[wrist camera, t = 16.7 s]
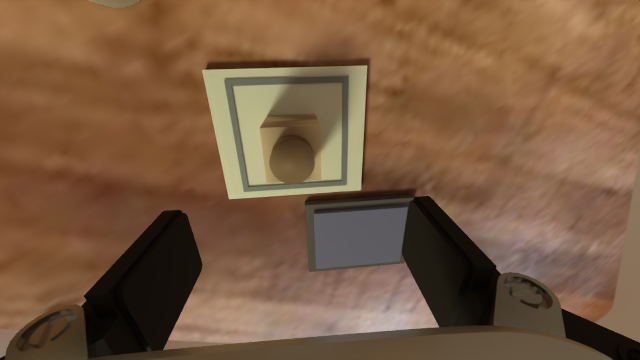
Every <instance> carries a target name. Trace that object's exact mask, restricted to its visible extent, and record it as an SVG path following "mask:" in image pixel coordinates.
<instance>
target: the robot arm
mask: <svg viewBox="0 0 640 360" xmlns="http://www.w3.org/2000/svg"><path fill="white" fill-rule="evenodd" d="M402 255H403V258H404V260H405V262H406V264H407V266H408V268H409V270H410V271H411V273H412V275H413V277H414V279H415V281H416V283H417V285H418V287H419V289H420V291H421V293H422V295H423V296H424V298H425V300H426V302H427V304H428V306H429V308H430V310H431V312H432V314H433V316H434V318H435V319H436V321H437V323H438V325H439V327H438V328H421V329H408V330H395V331H382V332H369V333H357V334H344V335H331V336H319V337H307V338H295V339H283V340H271V341H259V342H248V343H236V344H225V345H214V346H203V347H191V348H180V349H169V350H163V349H164V347H165V344H166V343H167V341H168V338H169V336H170V334H171V332H172V330H173V328H174V326H175V324H176V322H177V320H178V318H179V316H180V314H181V312H182V310H183V308H184V305H185V303H186V301H187V299H188V297H189V295H190V293H191V291H192V289H193V287H194V285H195V283H196V281H197V279H198V277H199V275H200V272H201V270H202V261H201V258H200V254H199V251H198V248H197V245H196V242H195V239H194V236H193V232H192V229H191V226H190V223H189V220H188V217H187V215H186V214H185V213H183V212H182V211H181V210H169V211H163V212H162V213H161V214H160V215H159V216H158V217H157V218H156V219H155V221H154V222H153V223H152V224H151V225H150V226H149V227H148V228H147V229H146V230H145V231H144V232H143V233H142V234H141V235H140V237H139V238H138V239H137V240H136V241H135V242H134V243H133V244H132V245H131V246H130V247H129V248H128V249H127V250H126V251H125V253H124V254H123V255H122V256H121V257H120V258H119V259H118V260H117V261H116V262H115V263H114V264H113V265H112V266H111V268H110V269H109V270H108V271H107V272H106V273H105V274H104V275H103V276H102V277H101V278H100V279H99V280H98V281H97V282H96V284H95V285H94V286H93V287H92V288H91V289H90V290H89V291H88V292H87V293H86V294H85V295H84V297H85V298H86V300H87V301H86V302H85V303H84V304H83V305H82V306H79V305H77V304H69V305H65V306H61V307H58V308H55V309H53V310H50V311H48V312H46V313H44V314H42V315H40V316H39V317H37V318H35V319H34V320H33V321H31V322H30V323H28V324H27V325H26V326H24V327H23V328H22V329H21V330H20V331H19V332H18V333H17V334H16V335H15V336H14V337H13V339H12V340H11V341H10V343H9V345H8V347H7V350H6V355H5V356H3V357H2V358H0V360H640V343H639V342H637V341H635V340H632V339H630V338H628V337H625V336H623V335H621V334H619V333H616V332H614V331H612V330H609V329H607V328H605V327H602V326H600V325H598V324H596V323H593V322H591V321H589V320H587V319H584V318H582V317H580V316H577V315H575V314H573V313H571V312H568V311H566V310H564V309H561V306H560V302H559V300H558V298H557V297H556V295H555V294H554V293H553V292H552V291H551V290H550V289H549V288H548V287H546V286H545V285H544V284H542V283H541V282H539V281H537V280H536V279H533V278H531V277H529V276H526V275H523V274H519V273H512V272H509V273H503V274H502V275H501V274H500V273H499V271H498V270H497V269H496V267H497V266H496V265H495V264H494V263H493V262H492V261H491V260H490V259H489V258H488V257H487V256H486V255H485V254H484V253H483V252H482V251H481V250H480V249H479V247H478V246H477V245H476V244H475V243H474V242H473V241H472V240H471V239H470V238H469V237H468V236H467V235H466V234H465V233H464V232H463V231H462V230H461V229H460V228H459V227H458V226H457V225H456V223H455V222H454V221H453V220H452V219H451V218H450V217H449V216H448V215H447V214H446V213H445V212H444V211H443V210H442V209H441V208H440V207H439V206H438V205H437V204H436V203H435V202H434V200H433V199H432V198H431V197H429V196H421V197H414V199H413V200H411V201H410V202H409V207H408V213H407V219H406V225H405V232H404V238H403V244H402Z"/></svg>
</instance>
